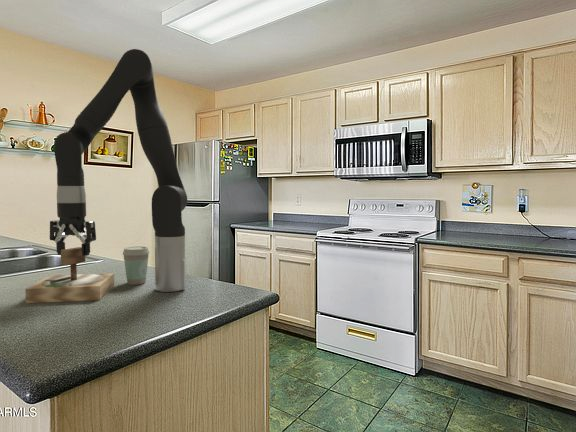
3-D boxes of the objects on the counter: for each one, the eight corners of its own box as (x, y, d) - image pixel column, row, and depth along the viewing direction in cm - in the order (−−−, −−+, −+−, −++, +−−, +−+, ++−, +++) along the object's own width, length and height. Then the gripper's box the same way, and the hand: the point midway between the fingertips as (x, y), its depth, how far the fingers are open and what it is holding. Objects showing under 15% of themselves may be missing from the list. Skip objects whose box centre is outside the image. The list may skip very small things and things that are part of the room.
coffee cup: (140, 286, 123) (140, 250, 122) (117, 284, 124) (116, 249, 124) (154, 280, 131) (154, 246, 130) (133, 279, 133) (132, 245, 132)
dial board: (114, 285, 124) (114, 272, 124) (100, 299, 107) (99, 284, 107) (50, 287, 120) (50, 274, 120) (25, 303, 103) (25, 287, 103)
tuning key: (79, 276, 117) (79, 247, 116) (85, 277, 116) (85, 247, 115) (47, 284, 107) (46, 252, 106) (53, 285, 106) (52, 252, 105)
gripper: (101, 201, 114) (102, 254, 115) (61, 201, 117) (63, 252, 118) (82, 201, 107) (84, 258, 108) (40, 201, 110) (43, 256, 111)
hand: (73, 255), depth 113 cm, fingers open, 8 cm apart
